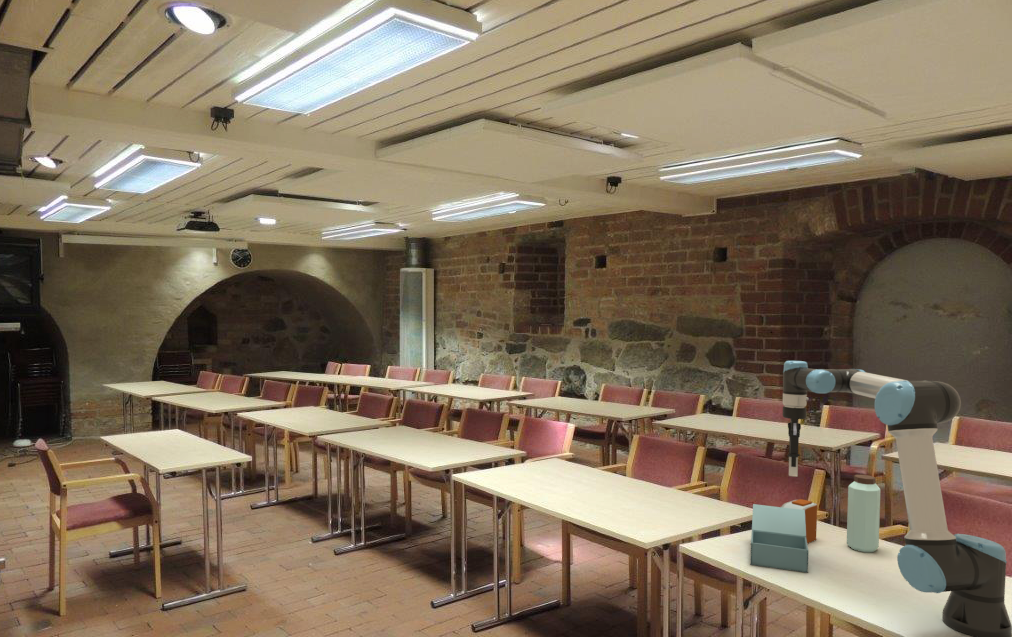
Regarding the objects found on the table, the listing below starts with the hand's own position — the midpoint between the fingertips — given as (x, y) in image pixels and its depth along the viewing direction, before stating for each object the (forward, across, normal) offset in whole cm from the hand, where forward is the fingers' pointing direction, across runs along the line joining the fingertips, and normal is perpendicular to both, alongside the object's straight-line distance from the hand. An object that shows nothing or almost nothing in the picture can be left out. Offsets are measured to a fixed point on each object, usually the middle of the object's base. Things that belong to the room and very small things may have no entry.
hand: (793, 475), depth 238 cm
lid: (+16, +2, +4) cm, 17 cm away
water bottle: (+26, +14, -23) cm, 38 cm away
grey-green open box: (+26, -11, +4) cm, 29 cm away
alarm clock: (+26, +14, -2) cm, 30 cm away
